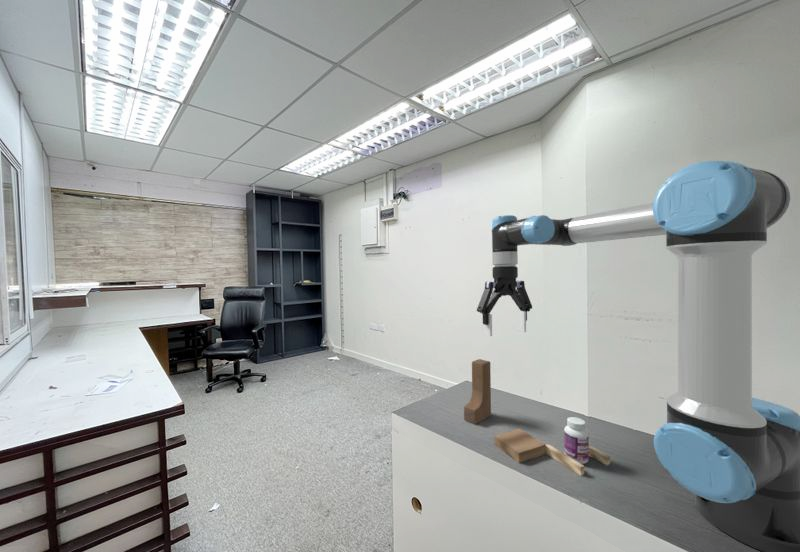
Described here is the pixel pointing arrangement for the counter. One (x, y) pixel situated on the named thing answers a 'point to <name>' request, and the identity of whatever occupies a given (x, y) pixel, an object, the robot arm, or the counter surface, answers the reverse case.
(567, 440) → the pill bottle
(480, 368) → the wooden block
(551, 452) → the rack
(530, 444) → the pedestal
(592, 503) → the counter surface
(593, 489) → the counter surface
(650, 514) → the counter surface
